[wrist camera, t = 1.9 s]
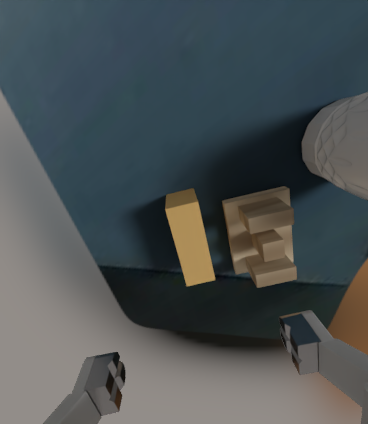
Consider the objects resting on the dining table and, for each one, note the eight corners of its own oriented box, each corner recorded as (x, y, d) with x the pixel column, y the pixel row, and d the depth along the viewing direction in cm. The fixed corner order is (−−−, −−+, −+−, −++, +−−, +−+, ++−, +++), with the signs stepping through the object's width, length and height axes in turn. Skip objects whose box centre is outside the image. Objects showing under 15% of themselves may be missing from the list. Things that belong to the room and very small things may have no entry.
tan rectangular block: (165, 194, 21) (163, 209, 17) (193, 187, 21) (197, 201, 17) (183, 261, 24) (186, 286, 20) (208, 255, 24) (215, 280, 20)
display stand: (221, 200, 21) (232, 216, 17) (284, 185, 21) (308, 199, 17) (233, 268, 24) (244, 295, 20) (288, 256, 24) (310, 280, 20)
